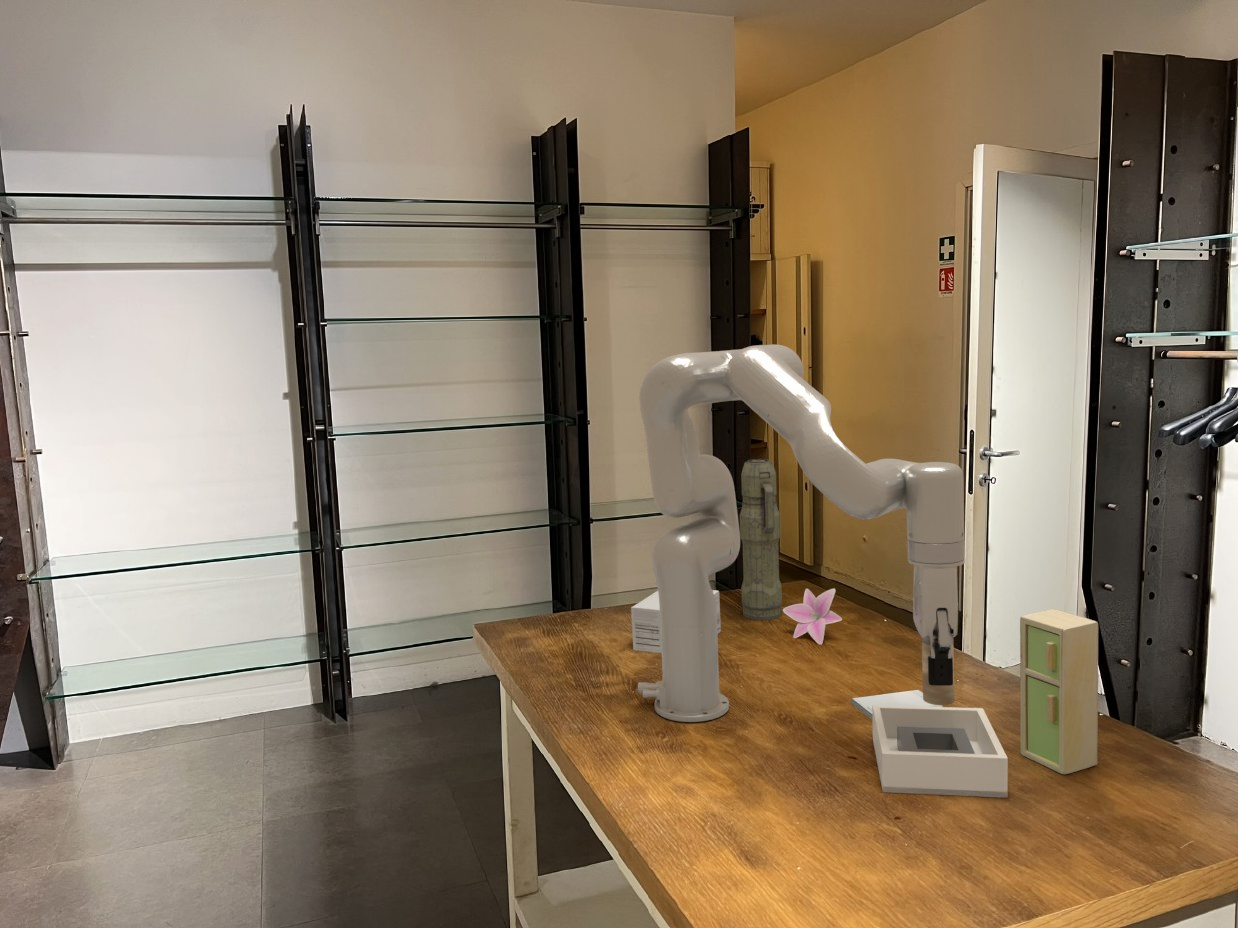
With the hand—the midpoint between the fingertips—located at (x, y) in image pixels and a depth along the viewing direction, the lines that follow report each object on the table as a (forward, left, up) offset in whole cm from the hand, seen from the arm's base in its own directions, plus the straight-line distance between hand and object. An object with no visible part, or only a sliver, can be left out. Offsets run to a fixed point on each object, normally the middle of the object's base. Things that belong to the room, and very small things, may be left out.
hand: (938, 677), depth 132 cm
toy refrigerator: (+17, +4, -14) cm, 22 cm away
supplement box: (-44, +55, -14) cm, 72 cm away
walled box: (0, 0, -13) cm, 13 cm away
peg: (0, 0, -3) cm, 3 cm away
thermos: (-27, +74, -14) cm, 80 cm away
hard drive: (-4, +22, -14) cm, 26 cm away
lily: (-16, +59, -14) cm, 63 cm away
